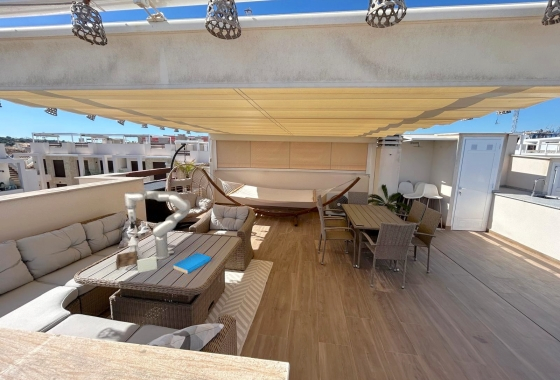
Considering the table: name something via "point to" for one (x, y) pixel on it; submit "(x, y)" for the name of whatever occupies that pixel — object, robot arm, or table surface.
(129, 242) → the toy gun turret
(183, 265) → the book
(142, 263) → the cover plate
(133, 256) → the box
